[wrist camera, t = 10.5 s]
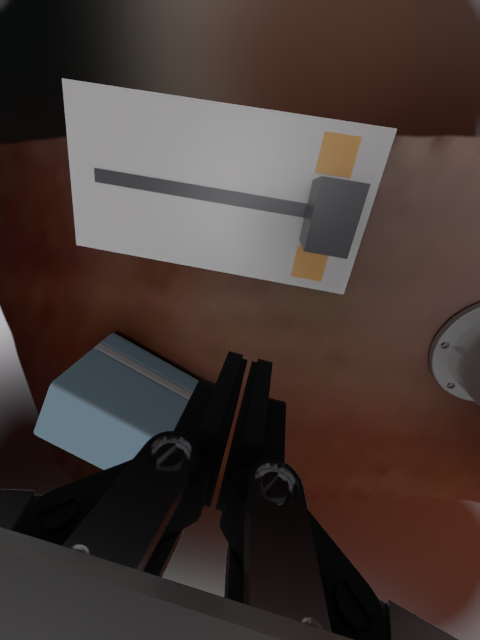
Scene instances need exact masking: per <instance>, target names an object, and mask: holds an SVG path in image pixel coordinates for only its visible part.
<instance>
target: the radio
mask: <svg viewBox="0 0 480 640" xmlns="http://www.w3.org/2000/svg"><path fill="white" fill-rule="evenodd" d="M198 381H199V380H197V379H195V378H193V377H192V376H190V375H188V374H186V373H185V372H183V371H181V370H179V369H177V368H176V367H174V366H172V365H170V364H169V363H167V362H165V361H163V360H161V359H160V358H158V357H156V356H154V355H153V354H151V353H149V352H147V351H145V350H144V349H142V348H140V347H138V346H137V345H135V344H133V343H131V342H130V341H128V340H126V339H124V338H122V337H121V336H119V335H117V334H115V333H112V334H110V335H109V336H108V337H106V338H105V339H104V340H103V341H102V342H101V343H99V344H98V345H97V346H95V347H94V349H92V350H91V351H89V352H88V353H87V354H86V355H85V356H83V357H82V358H81V359H80V360H78V361H77V362H76V363H75V364H74V365H72V366H71V367H70V368H69V369H67V370H66V371H65V372H64V373H63V374H61V375H60V376H59V377H58V378H57V379H55V380H54V381H53V382H52V383H51V385H50V387H49V389H48V392H47V395H46V398H45V401H44V404H43V407H42V409H41V412H40V415H39V418H38V421H37V424H36V427H35V430H34V434H35V435H37V436H38V437H40V438H42V439H44V440H46V441H48V442H50V443H52V444H54V445H56V446H58V447H60V448H62V449H64V450H66V451H68V452H70V453H72V454H74V455H76V456H78V457H80V458H81V459H83V460H85V461H87V462H89V463H91V464H93V465H95V466H97V467H99V468H101V469H103V470H106V469H108V468H111V467H113V466H116V465H119V464H121V463H124V462H127V461H129V460H132V459H133V458H134V457H135V456H136V455H137V453H138V452H139V451H140V450H141V448H142V447H143V446H144V445H145V444H146V442H147V441H148V440H149V439H151V438H152V437H153V436H155V435H157V434H159V433H161V432H165V431H174V429H175V427H176V425H177V423H178V421H179V419H180V417H181V415H182V413H183V411H184V409H185V407H186V405H187V403H188V401H189V399H190V397H191V395H192V393H193V391H194V389H195V387H196V385H197V383H198Z"/></svg>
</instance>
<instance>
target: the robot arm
mask: <svg viewBox="0 0 480 640" xmlns="http://www.w3.org/2000/svg"><path fill="white" fill-rule="evenodd" d="M242 357H243V355H242V354H238V353H234V352H230V351H229V353H228V355H227V358H226V360H225V362H224V365H223V367H222V370H221V372H220V375H219V377H218V380H217V382H216V384H215V383H211V382H208V381H204V380H199V381H198V383H197V385H196V387H195V389H194V391H193V393H192V395H191V397H190V399H189V401H188V403H187V405H186V407H185V409H184V411H183V413H182V415H181V417H180V419H179V421H178V423H177V425H176V427H175V429H174V431H165V432H161V433H159V434H157V435H155V436H153V437H152V438H151V439H149V440H148V441H147V442H146V444H145V445H144V446H143V447H142V448H141V450H140V451H139V452H138V453H137V455H136V456H135V457H134V458H133V459H132V460H129V461H127V462H124V463H121V464H119V465H116V466H113V467H111V468H108V469H106V470H103V471H100V472H98V473H95V474H93V475H90V476H87V477H85V478H82V479H80V480H77V481H74V482H72V483H69V484H67V485H64V486H61V487H59V488H56V489H54V490H52V491H50V492H48V493H46V494H44V495H35V493H34V491H33V490H32V491H31V490H11V489H0V640H458V639H456V638H455V637H453V636H451V635H449V634H448V633H446V632H444V631H442V630H441V629H439V628H437V627H436V626H434V625H432V624H430V623H429V622H427V621H425V620H423V619H422V618H420V617H418V616H417V615H415V614H413V613H411V612H410V611H408V610H406V609H404V608H403V607H401V606H399V605H398V604H396V603H394V602H392V601H391V600H389V601H388V602H387V603H385V602H383V601H381V600H380V599H378V598H377V596H376V595H375V593H374V592H373V590H372V589H371V587H370V586H369V584H368V583H367V582H366V581H365V579H364V578H363V577H362V576H361V575H360V573H359V572H358V571H357V570H356V568H355V567H354V566H353V565H352V564H351V562H350V561H349V560H348V559H347V557H346V556H345V555H344V554H343V552H342V551H341V550H340V549H339V548H338V546H337V545H336V544H335V543H334V541H333V540H332V539H331V538H330V537H329V535H328V534H327V533H326V531H325V530H324V529H323V528H322V527H321V525H320V524H319V523H318V522H317V520H316V519H315V518H314V517H313V516H312V514H311V513H310V512H309V511H308V508H307V503H306V498H305V493H304V487H303V484H302V481H301V478H300V477H299V475H298V474H297V472H296V471H295V470H294V469H293V468H292V467H291V466H290V465H288V464H287V463H285V462H284V457H285V418H286V403H285V402H283V401H279V400H275V399H271V398H269V389H270V380H271V372H272V362H269V361H265V360H261V359H258V362H253V361H252V363H251V367H250V371H249V375H248V379H247V383H246V387H245V391H244V395H243V399H242V403H241V407H240V411H239V415H238V419H237V423H236V427H235V431H234V435H233V439H232V444H231V448H230V452H229V456H228V460H227V464H226V468H225V472H224V477H223V481H222V485H221V489H220V493H219V497H218V501H217V506H216V510H220V511H222V515H221V519H220V528H221V530H222V532H223V534H224V536H225V538H226V539H227V541H228V545H227V553H226V573H225V594H224V597H221V596H218V595H214V594H212V593H208V592H205V591H202V590H199V589H196V588H193V587H190V586H187V585H183V584H180V583H177V582H174V581H171V580H168V579H165V578H162V576H163V574H164V572H165V570H166V568H167V566H168V564H169V562H170V560H171V558H172V555H173V553H174V551H175V549H176V547H177V545H178V543H179V541H180V539H181V537H182V534H183V531H184V528H186V527H188V526H189V525H191V524H193V523H194V522H196V521H198V519H199V517H200V516H201V512H202V509H203V506H206V507H210V506H211V502H212V498H213V494H214V490H215V487H216V483H217V479H218V475H219V471H220V468H221V464H222V460H223V456H224V452H225V448H226V445H227V441H228V437H229V433H230V429H231V425H232V422H233V418H234V414H235V410H236V405H237V401H238V397H239V393H240V389H241V385H242V381H243V377H244V372H245V368H246V364H247V360H246V359H242ZM429 366H430V370H431V372H432V374H433V377H434V378H435V379H436V381H437V382H438V383H439V385H440V386H441V387H442V388H443V389H444V390H446V391H447V392H449V393H450V394H452V395H453V396H456V397H458V398H461V399H464V400H469V401H474V402H476V403H477V404H478V405H479V406H480V303H477V304H475V305H473V306H470V307H468V308H466V309H464V310H463V311H461V312H460V313H458V314H457V315H455V316H454V317H453V318H451V319H450V320H449V321H448V322H447V323H446V324H445V325H444V326H443V327H442V328H441V330H440V331H439V332H438V333H437V335H436V337H435V339H434V340H433V342H432V345H431V348H430V351H429Z"/></svg>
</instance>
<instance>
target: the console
mask: <svg viewBox="0 0 480 640" xmlns="http://www.w3.org/2000/svg"><path fill="white" fill-rule="evenodd" d="M62 85H63V96H64V108H65V120H66V131H67V142H68V154H69V165H70V177H71V188H72V199H73V211H74V222H75V233H76V245H79V246H85V247H90V248H95V249H101V250H106V251H112V252H117V253H122V254H128V255H133V256H138V257H144V258H149V259H155V260H160V261H165V262H171V263H176V264H181V265H187V266H192V267H198V268H203V269H208V270H214V271H219V272H225V273H230V274H235V275H241V276H246V277H251V278H257V279H262V280H268V281H273V282H278V283H284V284H289V285H294V286H300V287H305V288H311V289H316V290H321V291H327V292H332V293H338V294H343V295H344V292H345V289H346V286H347V283H348V280H349V277H350V274H351V270H352V267H353V264H354V261H355V258H356V255H357V252H358V249H359V246H360V243H361V239H362V236H363V233H364V230H365V227H366V224H367V221H368V218H369V215H370V212H371V208H372V205H373V202H374V199H375V196H376V193H377V190H378V187H379V184H380V181H381V177H382V174H383V171H384V168H385V165H386V162H387V159H388V156H389V153H390V150H391V146H392V143H393V140H394V137H395V134H396V131H397V129H396V128H388V127H382V126H376V125H369V124H362V123H355V122H348V121H342V120H335V119H329V118H322V117H315V116H309V115H302V114H296V113H289V112H282V111H275V110H268V109H262V108H256V107H249V106H242V105H236V104H229V103H222V102H216V101H209V100H202V99H196V98H189V97H182V96H176V95H169V94H163V93H156V92H149V91H142V90H136V89H129V88H123V87H116V86H109V85H102V84H95V83H89V82H83V81H76V80H69V79H63V78H62ZM321 176H325V177H331V178H337V179H343V180H350V181H356V182H362V183H368V184H370V187H369V191H368V194H367V197H366V200H365V204H364V207H363V210H362V213H361V216H360V220H359V223H358V226H357V229H356V233H355V236H354V239H353V242H352V245H351V249H350V252H349V255H348V258H347V259H344V258H338V257H333V256H327V255H322V254H316V253H310V252H305V251H303V248H302V246H301V243H300V240H299V238H300V234H301V229H302V225H303V221H304V216H305V212H306V208H307V204H308V199H309V195H310V191H311V186H312V182H313V180H314V179H316V178H319V177H321Z"/></svg>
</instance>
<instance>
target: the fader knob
mask: <svg viewBox="0 0 480 640" xmlns="http://www.w3.org/2000/svg"><path fill="white" fill-rule="evenodd" d="M369 187H370V184H368V183H362V182H356V181H350V180H343V179H337V178H331V177H325V176H321V177H319V178H316V179H314V180H313V182H312V186H311V191H310V195H309V199H308V204H307V208H306V212H305V216H304V221H303V225H302V229H301V234H300V238H299V240H300V243H301V246H302V248H303V251H305V252H310V253H316V254H322V255H327V256H333V257H338V258H344V259H347V258H348V255H349V252H350V249H351V245H352V242H353V239H354V236H355V233H356V229H357V226H358V223H359V220H360V216H361V213H362V210H363V207H364V204H365V200H366V197H367V194H368V191H369Z"/></svg>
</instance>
